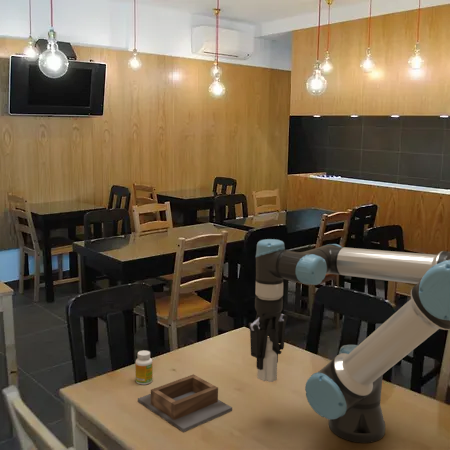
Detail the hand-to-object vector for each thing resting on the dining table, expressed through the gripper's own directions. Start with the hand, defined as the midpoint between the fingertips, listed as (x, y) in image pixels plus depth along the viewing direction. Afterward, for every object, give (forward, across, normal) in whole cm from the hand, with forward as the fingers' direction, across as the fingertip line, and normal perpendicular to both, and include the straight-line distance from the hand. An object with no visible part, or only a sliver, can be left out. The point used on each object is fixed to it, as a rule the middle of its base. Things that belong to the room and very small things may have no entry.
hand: (267, 377), depth 155 cm
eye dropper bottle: (+1, 0, 0) cm, 1 cm away
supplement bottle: (+12, +13, -42) cm, 45 cm away
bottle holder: (+12, +13, -21) cm, 27 cm away
